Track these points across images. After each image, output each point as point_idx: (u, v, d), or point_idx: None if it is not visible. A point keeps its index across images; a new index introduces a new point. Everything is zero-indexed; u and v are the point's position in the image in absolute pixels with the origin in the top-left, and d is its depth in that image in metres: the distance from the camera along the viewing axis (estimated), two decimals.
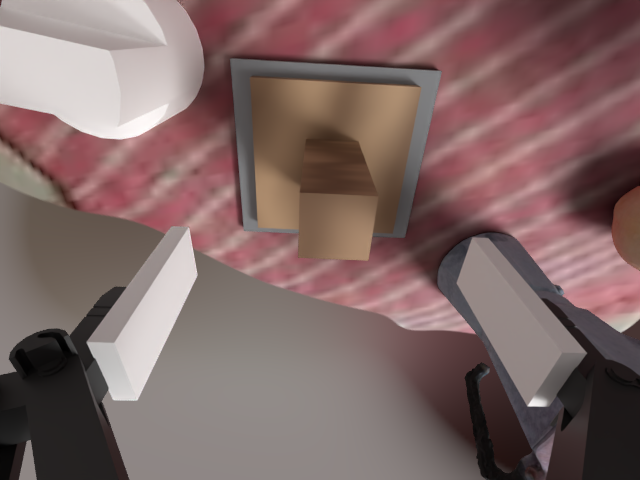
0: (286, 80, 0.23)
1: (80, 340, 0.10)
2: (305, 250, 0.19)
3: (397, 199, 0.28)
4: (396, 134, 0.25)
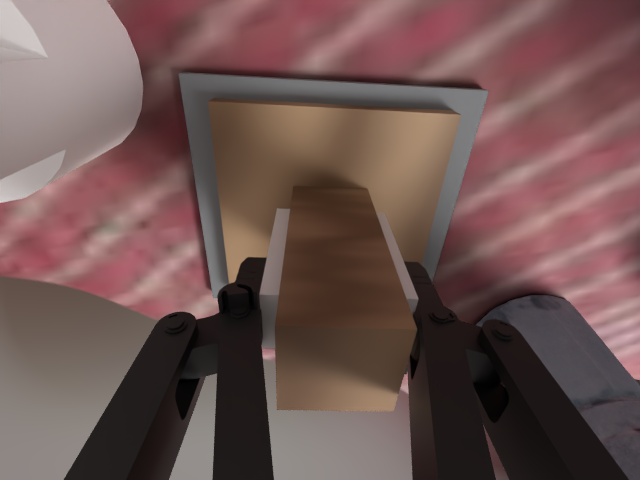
0: (262, 105, 0.16)
1: None
2: (288, 401, 0.11)
3: (419, 261, 0.20)
4: (421, 179, 0.18)
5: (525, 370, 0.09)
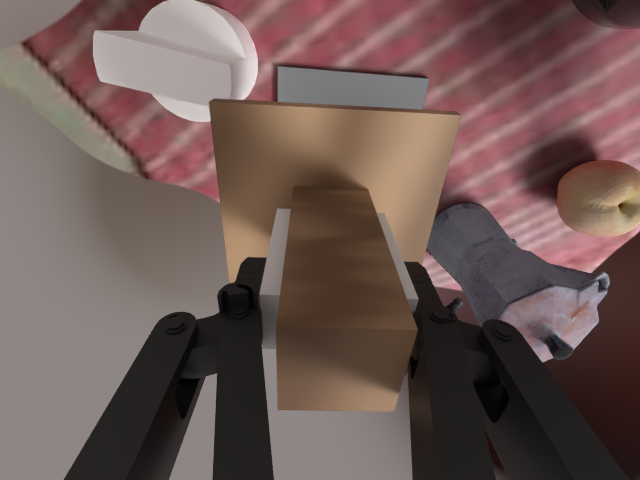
0: (263, 106, 0.16)
1: None
2: (289, 401, 0.11)
3: (420, 262, 0.20)
4: (421, 180, 0.18)
5: (525, 370, 0.09)
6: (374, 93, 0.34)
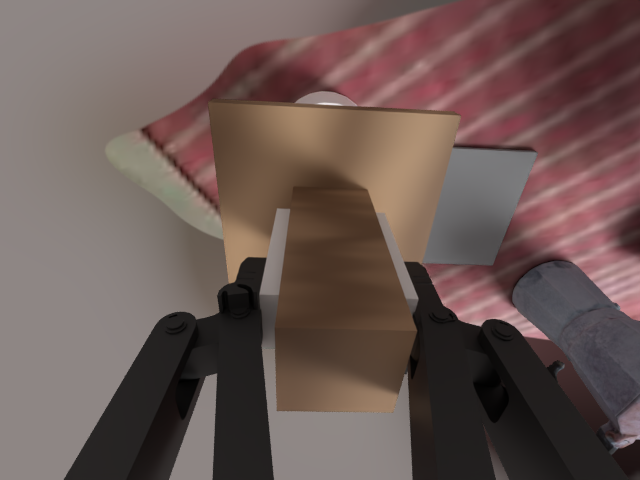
0: (262, 106, 0.16)
1: None
2: (288, 402, 0.11)
3: (419, 262, 0.20)
4: (421, 180, 0.18)
5: (525, 370, 0.09)
6: (481, 166, 0.34)
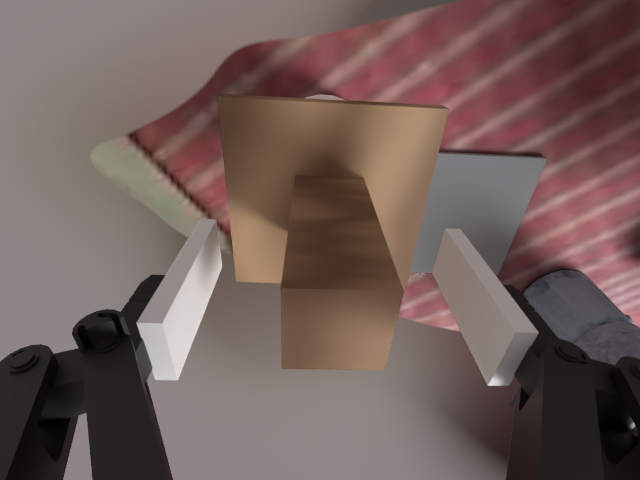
0: (267, 100, 0.17)
1: (127, 322, 0.11)
2: (292, 359, 0.12)
3: (412, 247, 0.22)
4: (413, 169, 0.19)
5: None
6: (487, 173, 0.32)
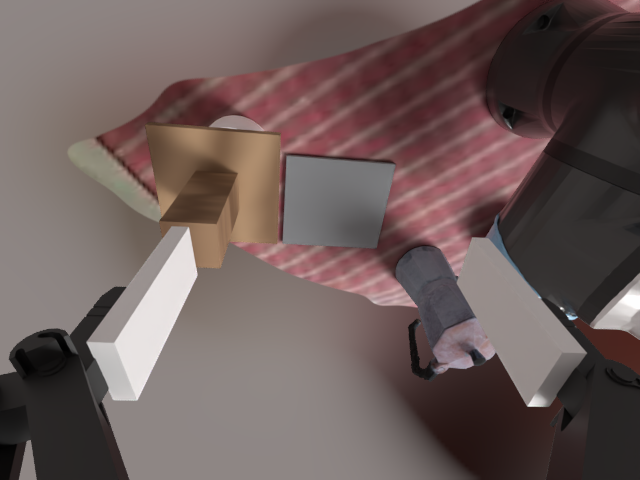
0: (174, 127, 0.30)
1: (80, 340, 0.10)
2: None
3: (276, 217, 0.35)
4: (266, 169, 0.32)
5: None
6: (356, 173, 0.46)
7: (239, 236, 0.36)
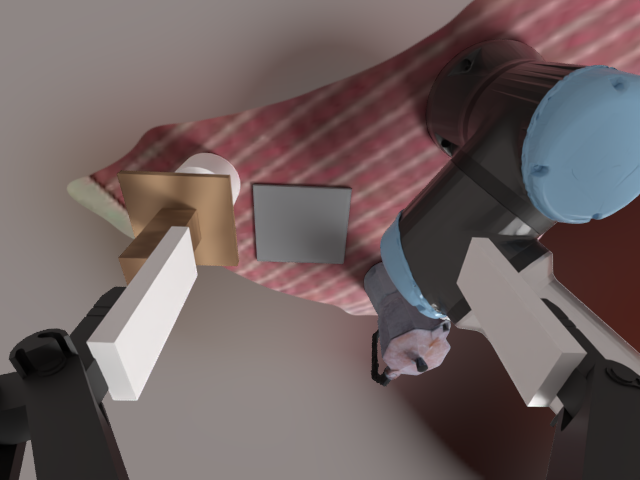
0: (140, 175, 0.36)
1: (80, 340, 0.10)
2: None
3: (233, 244, 0.41)
4: (220, 205, 0.38)
5: None
6: (317, 198, 0.51)
7: (204, 260, 0.42)
